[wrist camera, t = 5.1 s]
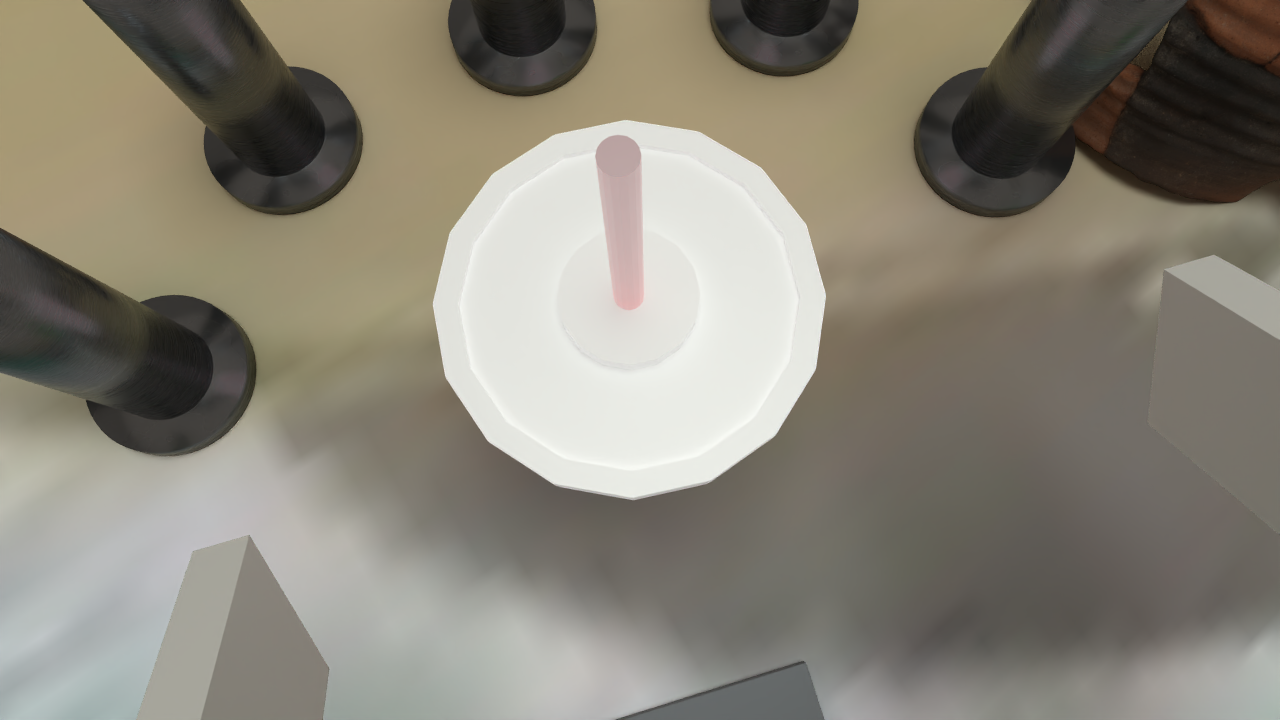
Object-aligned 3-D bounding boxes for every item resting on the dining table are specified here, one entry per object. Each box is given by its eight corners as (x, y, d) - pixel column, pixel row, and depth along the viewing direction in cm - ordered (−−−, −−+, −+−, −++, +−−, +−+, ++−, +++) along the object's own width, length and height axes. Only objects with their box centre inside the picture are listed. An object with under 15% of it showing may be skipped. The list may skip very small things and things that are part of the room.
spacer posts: (111, 475, 23) (-228, 411, 14) (49, 91, 25) (-272, -168, 16) (1088, 193, 24) (1337, -25, 15) (939, -145, 27) (1081, -499, 18)
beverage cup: (516, 290, 24) (335, -95, 10) (753, 284, 24) (892, -109, 10) (513, 530, 22) (299, 461, 9) (765, 525, 22) (947, 446, 9)
